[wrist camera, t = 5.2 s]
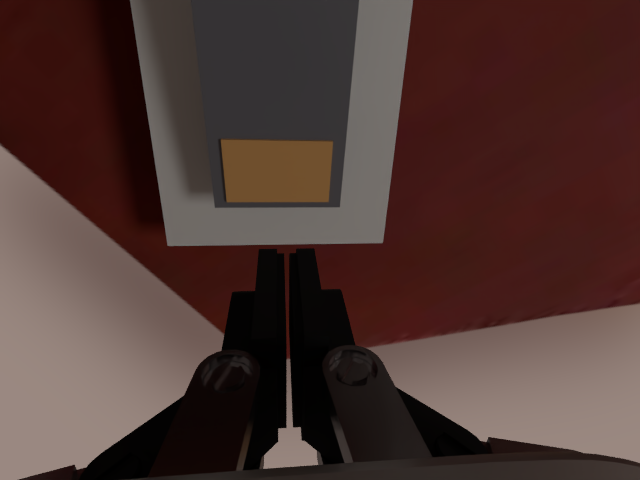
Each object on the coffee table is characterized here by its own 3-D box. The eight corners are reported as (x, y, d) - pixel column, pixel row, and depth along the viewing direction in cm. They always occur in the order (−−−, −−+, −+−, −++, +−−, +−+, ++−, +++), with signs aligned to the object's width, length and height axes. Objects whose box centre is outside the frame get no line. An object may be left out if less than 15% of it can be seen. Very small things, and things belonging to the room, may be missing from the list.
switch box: (132, -133, 22) (90, -186, 17) (406, -108, 23) (441, -149, 19) (179, 223, 31) (162, 255, 26) (371, 222, 33) (388, 252, 28)
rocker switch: (187, -75, 18) (180, -80, 16) (359, -62, 18) (365, -65, 17) (217, 196, 25) (214, 209, 24) (336, 196, 26) (340, 208, 25)
